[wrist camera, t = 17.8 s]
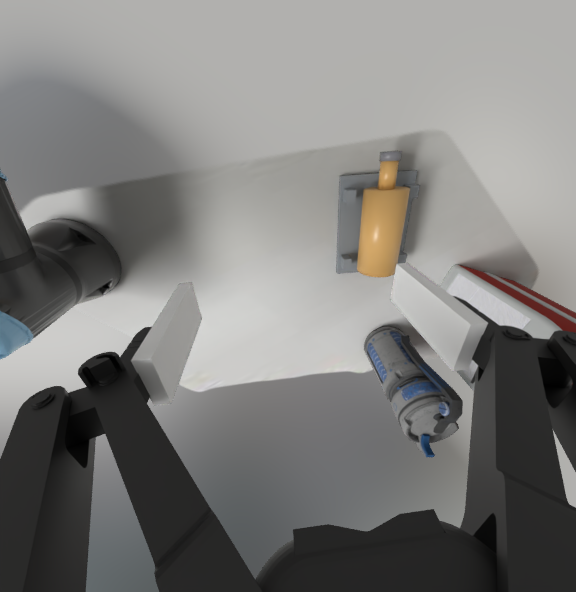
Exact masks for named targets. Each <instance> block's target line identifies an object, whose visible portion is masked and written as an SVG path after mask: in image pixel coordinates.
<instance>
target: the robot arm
mask: <svg viewBox="0 0 576 592" xmlns="http://www.w3.org/2000/svg"><path fill="white" fill-rule="evenodd" d="M7 181H8V179H7V177H6V176H5V175H4V174H3V173H2V171H1V169H0V359H2V358H5V357H6V356H8V355H9V354H11V353H12V352H14V351H15V350H17V349H18V348H20V347H21V346H23V345H26V344H28V343H29V342H30V341H31V340H32V339H33V338H34V337H36V336H37V335H38V334H40V333H41V332H42V331H43V330H44V329H46V328H47V327H48V326H50V325H51V324H52V323H53V322H55V321H56V320H57V319H58V318H59V317H61V316H62V315H63V314H65V313H66V312H67V311H68V310H69V309H71V308H72V307H73V306H75V305H76V304H79V303H83V302H86V301H89V300H93V299H96V298H99V297H101V296H103V295H105V294H106V293H108V292H109V291H110V290H111V289H112V288H114V287H115V286H116V284H117V283H118V281H119V279H120V275H121V265H120V261H119V258H118V256H117V254H116V252H115V250H114V249H113V247H112V246H111V245H110V243H109V242H108V241H107V240H106V239H105V238H104V237H103V236H102V235H100V234H99V233H98V232H96V231H95V230H93V229H92V228H90V227H88V226H86V225H84V224H81V223H79V222H76V221H72V220H66V219H54V220H49V221H46V222H43V223H39V224H37V225H35V226H33V227H31V228H30V229H28V230H27V231H26V228H25V226H24V223H23V221H22V219H21V216H20V214H19V212H18V209H17V207H16V205H15V202H14V200H13V197H12V195H11V193H10V190H9V188H8V186H7V183H6V182H7ZM390 300H391V302H392V303H393V304H394V305H395V306H396V307H397V308H398V310H399V311H400V312H401V313H402V314H403V315H404V316H405V318H406V319H407V320H408V321H409V322H410V323H411V324H412V326H413V327H414V328H415V329H416V330H417V331H418V332H419V334H420V335H421V336H422V337H423V338H424V339H425V340H426V342H427V343H428V344H429V345H430V346H431V347H432V348H433V350H434V351H435V352H436V353H437V354H438V355H439V356H440V358H441V359H442V360H443V361H444V362H445V363H446V364H447V366H448V367H449V368H450V369H451V370H452V371H460V370H468V368H469V366H470V364H471V361H472V360H473V361H474V362H475V363H476V364H477V365H478V367H477V370H476V372H475V374H474V376H473V378H472V381H471V383H472V384H473V383H474V382H475V386H474V401H473V413H472V427H471V440H470V453H469V466H468V479H467V480H468V481H467V492H466V506H465V513H464V518H463V521H462V525H461V527H460V528H458V527H456V526H453V525H451V524H448V523H445V522H442V521H439V519H438V518H437V515H436V513H435V511H434V509H432V510H425V511H418V512H411V513H404V514H399V515H397V516H396V517H394V518H392V519H390V520H389V521H387V522H385V523H383V524H382V525H380V526H378V527H376V528H374V529H373V530H371V531H368V532H365V531H359V530H354V529H349V528H343V527H339V526H334V525H321V526H314V527H307V528H300V529H294V530H293V534H294V540H292V541H290V542H289V543H287V544H285V545H284V546H283V547H281V548H280V549H279V550H278V551H277V552H275V553H274V554H273V556H272V557H271V558H270V559H269V560H268V561H267V563H266V564H265V565H264V567H263V568H262V570H261V571H260V573H259V575H258V576H257V578H256V580H255V579H254V577H253V576H252V574H251V572H250V571H249V569H248V567H247V566H246V564H245V562H244V561H243V559H242V558H241V556H240V554H239V553H238V551H237V549H236V548H235V546H234V544H233V543H232V541H231V539H230V538H229V537H228V535H227V533H226V532H225V530H224V528H223V526H222V525H221V523H220V521H219V520H218V519H217V517H216V515H215V514H214V512H213V511H212V510H211V508H210V507H209V505H208V504H207V502H206V501H205V499H204V497H203V496H202V494H201V492H200V491H199V489H198V487H197V485H196V484H195V482H194V481H193V479H192V477H191V476H190V474H189V472H188V471H187V469H186V467H185V466H184V464H183V463H182V461H181V459H180V457H179V456H178V454H177V453H176V451H175V450H174V448H173V446H172V444H171V443H170V441H169V439H168V438H167V436H166V434H165V433H164V431H163V429H162V428H161V426H160V425H159V423H158V421H157V420H156V418H155V416H154V415H153V413H152V411H151V410H150V408H149V406H148V405H147V402H148V400H149V398H150V399H151V401H152V403H153V405H154V406H156V405H165V404H171V403H172V401H173V398H174V395H175V392H176V390H177V387H178V384H179V381H180V379H181V376H182V373H183V370H184V367H185V365H186V362H187V359H188V356H189V353H190V351H191V348H192V345H193V342H194V340H195V337H196V334H197V331H198V328H199V326H200V323H201V320H202V317H201V313H200V310H199V306H198V302H197V299H196V295H195V292H194V288H193V285H192V282H191V283H180V284H179V285H178V286H177V288H176V290H175V291H174V293H173V294H172V296H171V298H170V299H169V301H168V302H167V304H166V306H165V307H164V309H163V310H162V312H161V313H160V315H159V317H158V318H157V320H156V321H155V323H154V325H153V326H152V327H145V328H143V329H142V330H141V331H140V332H138V333H137V334H136V335H135V337H134V338H133V340H132V341H131V343H130V344H129V345H128V347H127V349H126V350H125V351H124V353H123V354H122V355H121V357H119V355H118V354H117V353H115V352H106V353H101V354H99V355H96V356H94V357H92V358H90V359H89V360H87V361H86V362H85V363H84V364H82V365H81V367H80V368H79V370H78V375H79V376H80V378H81V379H82V381H83V382H84V383H85V385H86V386H87V387H85V388H82V389H79V390H76V391H73V392H70V393H68V392H67V391H66V390H65V388H63V387H61V386H54V387H50V388H47V389H44V390H42V391H39V392H38V393H36V394H35V395H33V396H31V397H30V398H29V399H28V400H27V401H26V402H24V403H23V405H22V406H21V408H20V409H19V412H18V415H17V417H16V420H15V422H14V425H13V428H12V430H11V433H10V435H9V438H8V440H7V443H6V446H5V448H4V451H3V453H2V456H1V459H0V592H86V577H87V562H88V545H89V530H90V515H91V501H92V485H93V470H94V454H95V440H96V439H95V438H96V437H97V436H100V435H102V434H106V436H107V439H108V442H109V444H110V447H111V450H112V452H113V455H114V457H115V460H116V463H117V466H118V468H119V471H120V473H121V476H122V479H123V481H124V484H125V486H126V489H127V492H128V494H129V497H130V500H131V502H132V505H133V508H134V510H135V513H136V516H137V518H138V520H139V523H140V526H141V529H142V531H143V534H144V536H145V539H146V542H147V544H148V547H149V550H150V552H151V555H152V557H153V561H154V563H155V573H154V574H155V578H156V583H157V586H158V589H159V592H576V508H575V507H573V506H571V505H569V503H568V501H567V498H566V494H565V489H564V484H563V479H562V474H561V469H560V465H559V460H558V455H557V449H556V445H555V440H554V435H553V430H554V432H555V434H556V436H557V438H558V440H559V442H560V443H561V445H562V447H563V449H564V451H565V453H566V455H567V457H568V458H569V460H570V462H571V464H572V466H573V468H574V470H575V472H576V332H570V331H562V330H558V331H554V333H553V334H552V335H551V337H550V339H540V338H533V337H532V336H531V335H530V334H529V333H527V332H526V331H524V330H522V329H519V328H516V327H513V326H507V325H502V326H500V325H498V324H497V323H496V322H494V321H493V320H491V319H490V318H489V317H487V316H486V315H485V314H483V313H482V312H479V310H478V309H476V308H475V307H473V306H472V305H471V304H469V303H468V302H467V301H465V300H463V299H461V298H458V297H456V296H452V295H450V294H449V293H448V292H446V291H445V290H444V289H442V288H441V287H440V286H438V285H437V284H436V283H434V282H433V281H432V280H430V279H429V278H428V277H426V276H425V275H424V274H422V273H421V272H420V271H418V270H417V269H416V268H414V267H413V266H412V265H410V264H409V263H399V264H396V269H395V275H394V281H393V286H392V292H391V298H390ZM572 383H573V384H572ZM552 428H553V430H552Z"/></svg>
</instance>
